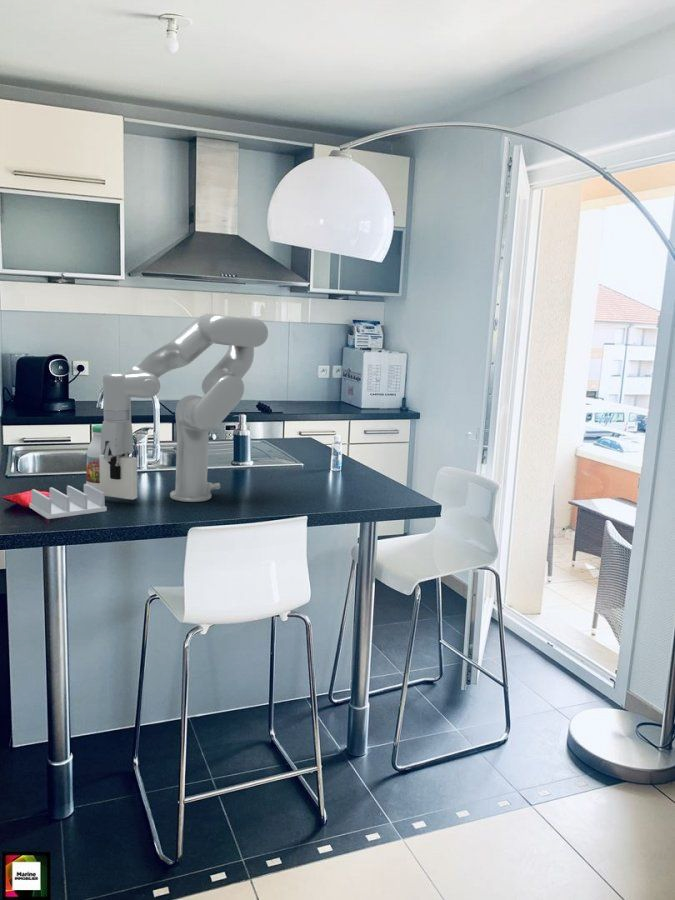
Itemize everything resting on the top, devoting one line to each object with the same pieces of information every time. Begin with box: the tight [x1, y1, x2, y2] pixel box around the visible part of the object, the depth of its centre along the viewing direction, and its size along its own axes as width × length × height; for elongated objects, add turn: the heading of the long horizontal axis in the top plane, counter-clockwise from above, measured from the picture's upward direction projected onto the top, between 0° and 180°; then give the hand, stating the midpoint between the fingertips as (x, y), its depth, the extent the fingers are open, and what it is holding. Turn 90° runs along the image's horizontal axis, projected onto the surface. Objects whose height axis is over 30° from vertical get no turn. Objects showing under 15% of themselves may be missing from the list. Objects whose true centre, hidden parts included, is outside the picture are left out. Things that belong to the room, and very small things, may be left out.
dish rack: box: [28, 483, 108, 520], centre depth 208 cm, size 17×13×5 cm
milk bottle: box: [85, 424, 102, 490], centre depth 230 cm, size 8×8×20 cm
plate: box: [99, 455, 138, 500], centre depth 217 cm, size 2×11×12 cm, turn 72°
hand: (118, 477), depth 217 cm, fingers closed on plate, 2 cm apart
